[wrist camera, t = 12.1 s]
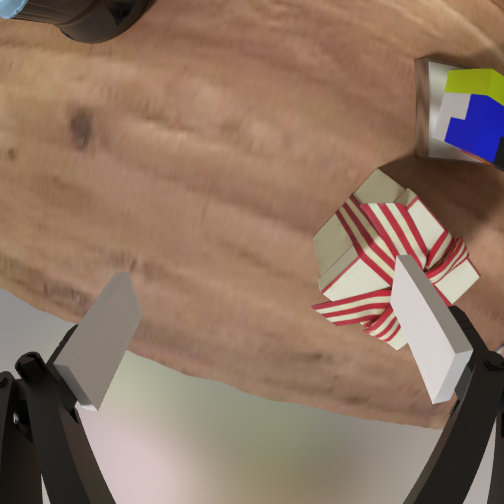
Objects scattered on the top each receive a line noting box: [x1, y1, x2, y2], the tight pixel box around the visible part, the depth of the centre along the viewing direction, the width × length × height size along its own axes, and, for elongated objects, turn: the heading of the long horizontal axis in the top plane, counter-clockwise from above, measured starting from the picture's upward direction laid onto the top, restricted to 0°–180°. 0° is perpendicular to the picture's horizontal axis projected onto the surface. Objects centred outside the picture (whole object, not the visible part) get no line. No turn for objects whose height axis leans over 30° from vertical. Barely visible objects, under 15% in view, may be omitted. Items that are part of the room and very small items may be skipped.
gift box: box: [311, 168, 481, 351], centre depth 38 cm, size 17×18×17 cm
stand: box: [415, 58, 490, 166], centre depth 34 cm, size 14×14×4 cm
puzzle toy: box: [432, 69, 504, 172], centre depth 28 cm, size 10×10×10 cm
